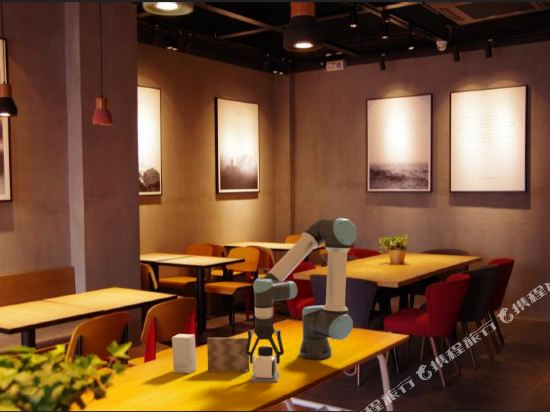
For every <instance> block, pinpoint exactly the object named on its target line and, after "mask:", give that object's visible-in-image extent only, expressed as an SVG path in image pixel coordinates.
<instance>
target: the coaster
mask: <svg viewBox="0 0 550 412" xmlns="http://www.w3.org/2000/svg"><path fill="white" fill-rule="evenodd" d="M279 377H280V371H277V372H275V374H274V376H273V377H272V378H258V377H255V372H253V371H252V375H251V377H250V379H249V382H250V383H278V380H279Z"/></svg>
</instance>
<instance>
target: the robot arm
mask: <svg viewBox="0 0 550 412" xmlns="http://www.w3.org/2000/svg"><path fill="white" fill-rule="evenodd" d="M357 235H358V233H357V228H356V226H355V224H354V222H353V221H352V220H350V219H348V218H342V217H321V218H319V219H318V220H315V221H314V222H313V223H311V224H310V225H309V226H308V227H307V228H306V229H305V230H304V231H303V232H302V233H301V237H300V238H299V239H298V240H297V241H296V243H295V244H294V245H293V246H292V247H291V248H290V249H289V250H288V251H287V252H286V253H285V254H284V255H283V256H282V257H281V259H279V260H278V262H277V263H276V264H275V265H274V266H273V267H272V268H271V269H270V270H269V271H268V272H267V273H266V274H265V275H264V276H263V277H258V278H256V279H255V280H254V282H253V286H252V287H253V293H254V317H255V318H254V329H252V330H251V329H249V330H248V331H247V336H248V337H247V338H248V341H247V346H246V352H245V354H246V355H249V364H251V365H252V373H253V372H255V360H256V354H254V353H255V350H257V349H256V348H257V347H258V343H259V342H260V341H263V340H265V341H269V343H270V345H271V347H272V348H273V352H274V353H275V355H274V357H275V372H278V364H280V362H281V361H280V360H281V358H280V357H281V356H284V353H285V350H284V346H283V341H282V337H281V334H282V331H281V329H275V328H274V317H273V316H274V302H278V301H285V300H291V299H294V298H296V297H297V294H298V287H297V284H296V282H294V281H292V280H286V279H287V278H288V276H289V275H290V274H291V273H292V272H293V271H294V270H295V269H296V268H297V267H298V266H299V265H300V264H301V262H302V261H303V260H305V258H306V257H307V256H308V255H309V254H310V253H311V252H312V251H313V250H315V249H318V247H320V246H321V245H322V244H324V248H325V250H326V251H327V270H326V294H325V304H324V305H322V304H321V305H311V306H310V305H309V306H306V307H303V309H302V315H301V317H302V341H301V344H300V347H299V357H300V358H302V359H307V360H323V359H328V358H331V356H332V353H333V351H332V347H331V345H330V342H329V339H331V340H337V341H341V340H344V339H346V338H348V337H349V335H351V332H352V330H353V327H354V322H353V319H352V318H351V316H350V315H349V308H348V307H347V306H346V289H347V288H346V287H347V286H346V285H347V266H348V265H347V262H348V261H347V260H348V259H347V258H348V252H349V251H350V250H351V248H352V247H351V246H352V244H354V243H355V241H356V239H357ZM254 334H255V336H256V337H257V338H255V339H256V340H255V342H254V343H253V346H252V348H251V350H250V347H251V342H252V338H253V336H254ZM274 334H275V336H276V337H277V343H278V347H277V344H276V342H275V340H274V338H273V335H274ZM278 348H279V349H278Z"/></svg>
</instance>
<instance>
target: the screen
mask: <svg viewBox="0 0 550 412" xmlns="http://www.w3.org/2000/svg"><path fill="white" fill-rule="evenodd" d="M206 340H207V347H206V348H207V349H206V350H207V372H208V373H216V372H217V371H218V372H219V371H221V372H222V371H223V372H224V371H225V372H229V371H231V372H240V373H248V372H249V371H250V356H249V355H246V354H245V352H246V346H247V341H248V337H207V339H206Z"/></svg>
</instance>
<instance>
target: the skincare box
mask: <svg viewBox="0 0 550 412" xmlns="http://www.w3.org/2000/svg"><path fill="white" fill-rule="evenodd" d="M195 337H196V336H195V334H191V333H190V334H189V333H188V334H187V333H178V334H176V335H174V336H172V337H171V343H172V347H171V348H172V361H173V362H172V365H173V366H172V367H173V373H176V374H177V373H179V374H180V373H181V374H191V373H193V372H195V371H196V370H197V356H196V352H197V351H196V338H195Z"/></svg>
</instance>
